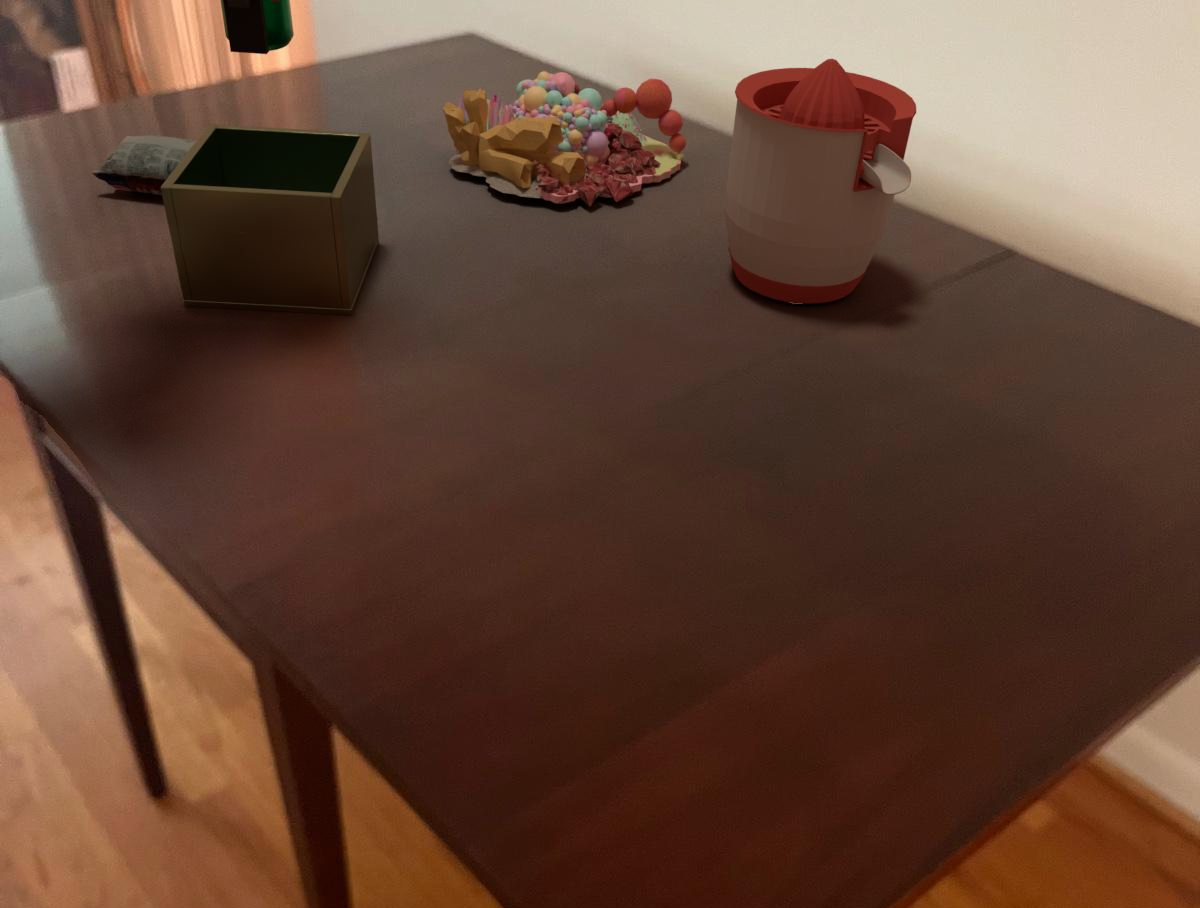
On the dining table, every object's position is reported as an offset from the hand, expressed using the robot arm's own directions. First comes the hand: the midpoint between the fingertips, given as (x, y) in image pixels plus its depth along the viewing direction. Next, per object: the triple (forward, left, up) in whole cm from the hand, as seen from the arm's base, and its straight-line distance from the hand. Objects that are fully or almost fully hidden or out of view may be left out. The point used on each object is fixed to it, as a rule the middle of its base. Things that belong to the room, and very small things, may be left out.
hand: (259, 39), depth 90 cm
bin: (-2, +5, -22) cm, 22 cm away
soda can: (0, 0, 0) cm, 0 cm away
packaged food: (-18, +23, -22) cm, 36 cm away
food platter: (+22, +35, -22) cm, 47 cm away
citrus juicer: (+46, +9, -22) cm, 52 cm away
